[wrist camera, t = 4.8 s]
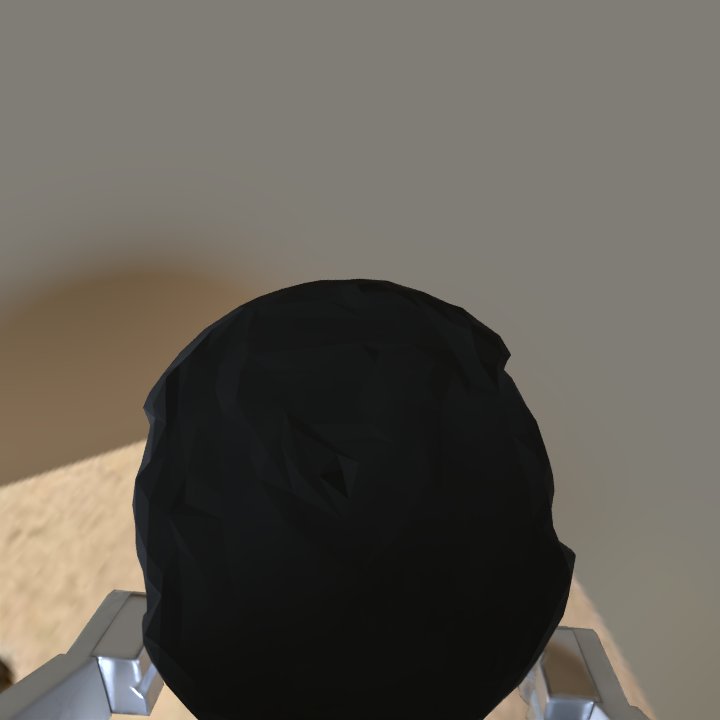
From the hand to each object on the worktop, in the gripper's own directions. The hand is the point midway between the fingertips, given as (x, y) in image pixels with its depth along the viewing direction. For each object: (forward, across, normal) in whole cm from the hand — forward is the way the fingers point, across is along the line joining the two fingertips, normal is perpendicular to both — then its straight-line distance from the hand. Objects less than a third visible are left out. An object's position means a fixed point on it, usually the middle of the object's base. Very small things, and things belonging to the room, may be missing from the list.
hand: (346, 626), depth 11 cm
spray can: (+12, 0, +8) cm, 14 cm away
